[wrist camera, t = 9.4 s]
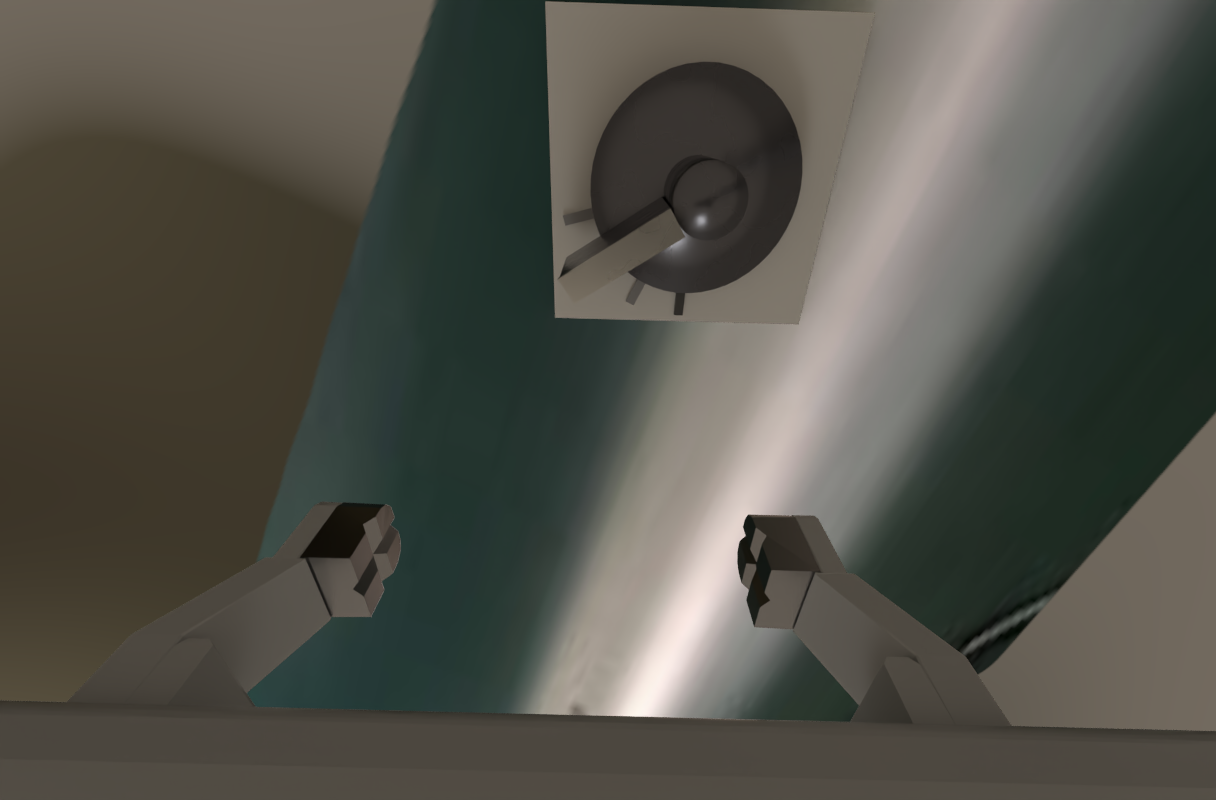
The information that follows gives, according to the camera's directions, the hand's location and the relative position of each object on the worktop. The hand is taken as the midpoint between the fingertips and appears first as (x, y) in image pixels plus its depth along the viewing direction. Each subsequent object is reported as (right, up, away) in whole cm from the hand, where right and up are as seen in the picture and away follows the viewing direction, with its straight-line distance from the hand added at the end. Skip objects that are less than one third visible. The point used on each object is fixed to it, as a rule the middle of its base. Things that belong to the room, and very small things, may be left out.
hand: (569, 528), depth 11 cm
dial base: (+5, +14, +14) cm, 20 cm away
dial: (+4, +13, +13) cm, 19 cm away
